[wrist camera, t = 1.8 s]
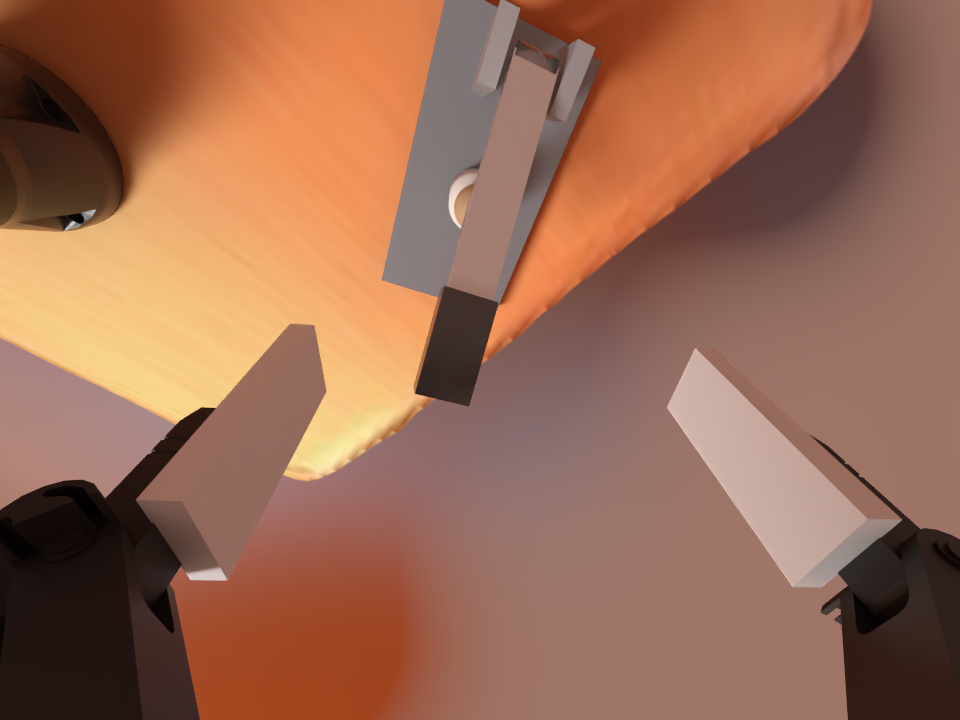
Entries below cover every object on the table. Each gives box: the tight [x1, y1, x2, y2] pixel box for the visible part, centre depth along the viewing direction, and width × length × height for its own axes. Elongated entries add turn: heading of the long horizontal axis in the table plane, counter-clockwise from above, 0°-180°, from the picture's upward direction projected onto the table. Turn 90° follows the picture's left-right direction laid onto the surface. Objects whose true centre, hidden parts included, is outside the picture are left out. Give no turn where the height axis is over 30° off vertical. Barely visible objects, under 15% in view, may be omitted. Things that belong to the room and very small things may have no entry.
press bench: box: [382, 0, 602, 311], centre depth 33 cm, size 14×26×14 cm, turn 160°
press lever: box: [414, 39, 560, 406], centre depth 24 cm, size 4×23×3 cm, turn 160°
